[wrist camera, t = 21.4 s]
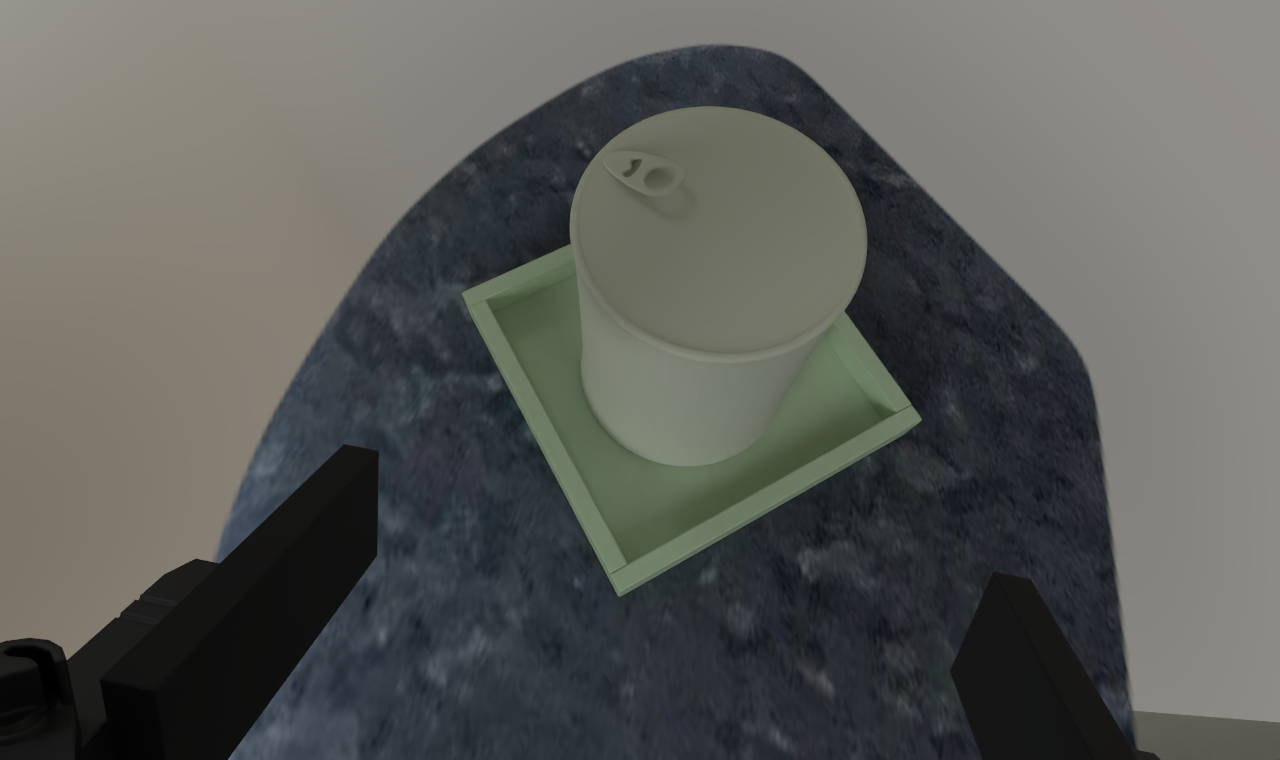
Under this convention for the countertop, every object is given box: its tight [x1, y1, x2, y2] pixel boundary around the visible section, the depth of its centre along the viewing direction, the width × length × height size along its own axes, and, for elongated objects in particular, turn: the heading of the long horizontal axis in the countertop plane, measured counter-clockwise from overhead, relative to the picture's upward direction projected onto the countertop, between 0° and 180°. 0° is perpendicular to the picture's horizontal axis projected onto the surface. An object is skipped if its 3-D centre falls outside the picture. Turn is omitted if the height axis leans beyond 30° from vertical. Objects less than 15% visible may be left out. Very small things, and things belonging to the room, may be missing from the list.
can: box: [570, 106, 867, 467], centre depth 27 cm, size 9×9×12 cm
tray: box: [462, 244, 922, 597], centre depth 32 cm, size 15×15×2 cm
